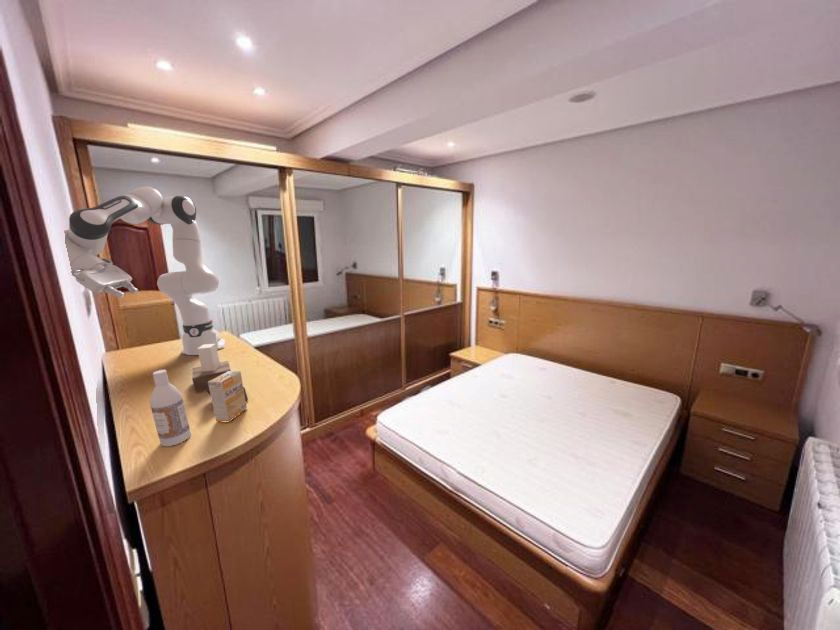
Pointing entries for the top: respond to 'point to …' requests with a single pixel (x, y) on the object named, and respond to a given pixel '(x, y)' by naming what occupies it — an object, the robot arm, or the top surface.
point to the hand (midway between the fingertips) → (129, 294)
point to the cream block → (208, 357)
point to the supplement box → (227, 395)
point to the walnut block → (207, 376)
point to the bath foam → (168, 411)
